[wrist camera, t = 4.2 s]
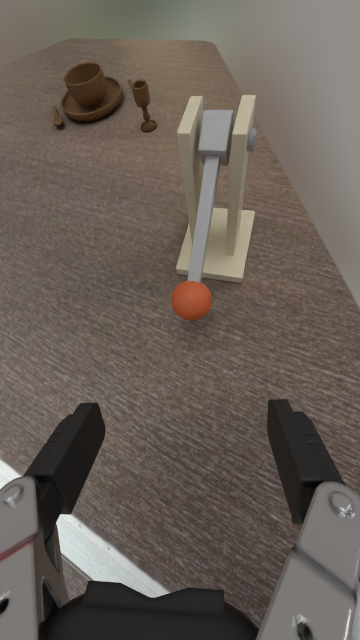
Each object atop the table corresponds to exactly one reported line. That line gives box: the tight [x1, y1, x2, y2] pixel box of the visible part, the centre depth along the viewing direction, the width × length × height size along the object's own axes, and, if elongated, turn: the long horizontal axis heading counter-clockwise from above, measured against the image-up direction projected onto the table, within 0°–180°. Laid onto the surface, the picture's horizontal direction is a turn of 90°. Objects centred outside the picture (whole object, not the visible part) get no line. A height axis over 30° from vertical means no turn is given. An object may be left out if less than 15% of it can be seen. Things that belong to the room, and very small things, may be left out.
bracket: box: [176, 95, 257, 283], centre depth 25 cm, size 10×8×15 cm
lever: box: [171, 110, 234, 321], centre depth 21 cm, size 16×4×4 cm
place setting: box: [53, 62, 157, 132], centre depth 43 cm, size 18×20×6 cm
